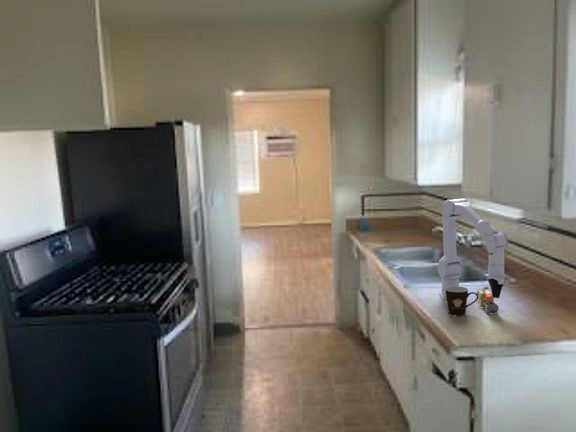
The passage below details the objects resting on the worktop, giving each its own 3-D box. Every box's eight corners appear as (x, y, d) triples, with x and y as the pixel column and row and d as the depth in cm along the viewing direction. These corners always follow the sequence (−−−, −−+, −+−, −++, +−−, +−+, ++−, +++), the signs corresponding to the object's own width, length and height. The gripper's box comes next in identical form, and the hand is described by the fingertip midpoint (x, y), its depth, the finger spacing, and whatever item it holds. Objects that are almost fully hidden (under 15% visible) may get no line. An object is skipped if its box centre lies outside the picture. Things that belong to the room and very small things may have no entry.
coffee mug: (442, 314, 205) (441, 290, 203) (450, 308, 211) (449, 285, 210) (471, 319, 198) (471, 294, 196) (478, 313, 204) (478, 288, 203)
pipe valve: (475, 300, 221) (475, 286, 220) (487, 300, 220) (487, 286, 220) (486, 315, 201) (486, 300, 200) (500, 315, 200) (500, 300, 200)
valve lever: (482, 290, 214) (482, 286, 213) (488, 291, 213) (488, 286, 213) (486, 300, 200) (486, 295, 200) (493, 300, 200) (493, 296, 199)
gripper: (480, 259, 208) (480, 292, 210) (490, 268, 194) (490, 303, 196) (499, 259, 207) (498, 292, 209) (510, 267, 193) (509, 302, 195)
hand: (495, 297), depth 202 cm, fingers closed
